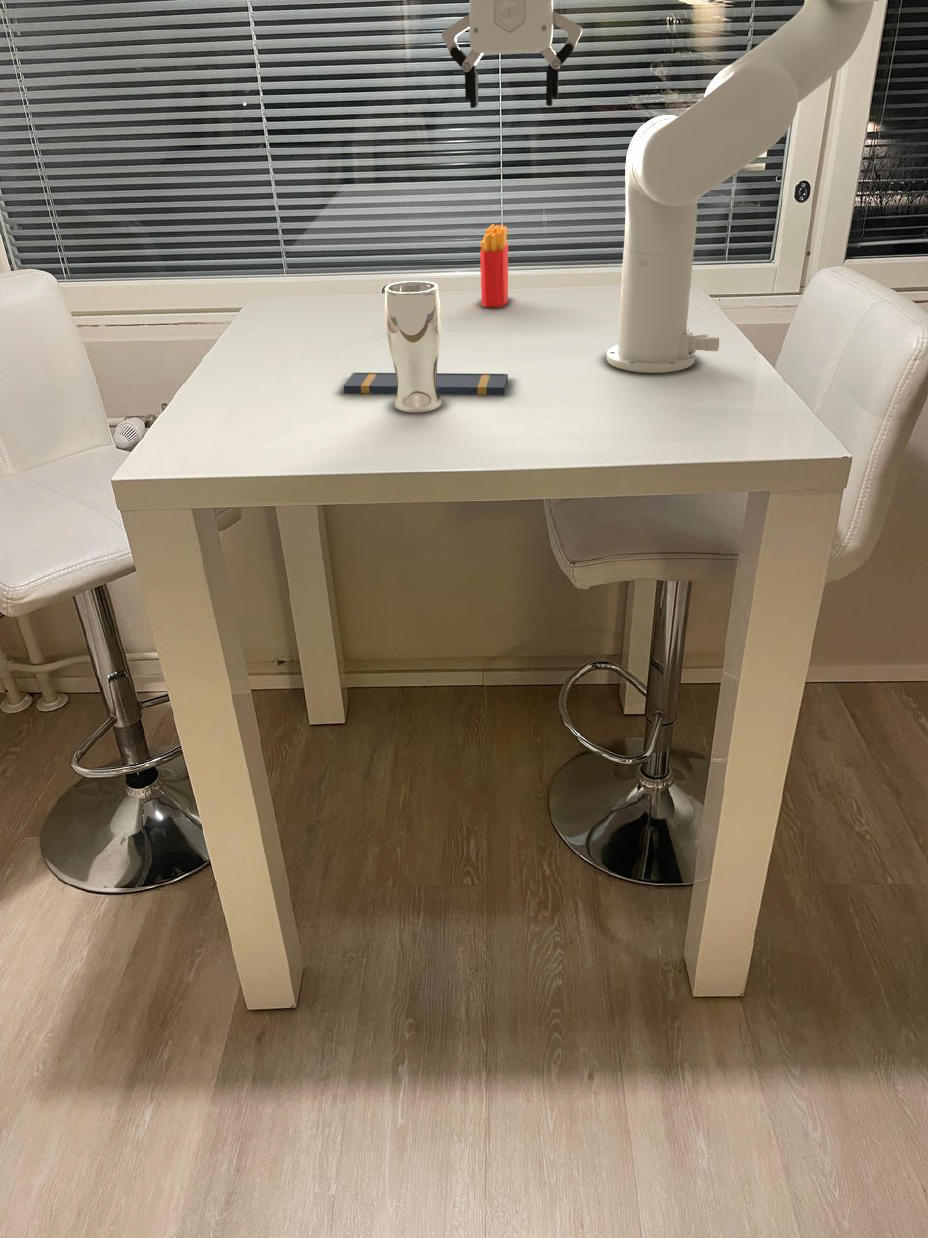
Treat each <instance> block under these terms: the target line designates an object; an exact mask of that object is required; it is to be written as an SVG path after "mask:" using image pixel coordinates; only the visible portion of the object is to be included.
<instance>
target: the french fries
mask: <svg viewBox="0 0 928 1238" xmlns="http://www.w3.org/2000/svg"><path fill="white" fill-rule="evenodd" d="M507 235H508V227H507V225H505V226H504V225H503V224H498V225H495V223H493V224H492V225H490V226H489V227H488V228H487V229H485V234H484V236H483V239H482V240H481V241H480V249H479V263H480V288H481V290H480V291H481V306H482V307H484V308H501V307H504V306H505V305H506V304H507V303H508V300H509V243H507Z"/></svg>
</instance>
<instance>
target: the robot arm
mask: <svg viewBox="0 0 928 1238" xmlns="http://www.w3.org/2000/svg"><path fill="white" fill-rule="evenodd" d="M877 1H879V0H805V2H804V4H803V5H802V7H801V9H799V11H798V12H797V13H796V14H795V15H794V16H793V17H792V18H791V19H790V20H788V21H787V22H786V23H785V24H783V25H782V26H781V27H780V28H779V29H777V30H776V31H775V32H774V33H773V34H771V35H770V36H769V37H767V38H766V39H765V40H762V42H760V43H759V44H757V45H756V46H755V47H753V48H752V49H750V50H749V51H748V52H747V53H745V54H744V55H743V56H741V57H739V58H738V59H736V60H735V61H733V62H732V63H730V64H729V65H726V67H724V68H722V70H721V71H719V72H718V73H717V74H716V75H715V76H714V78H712V80H711V81H710V83H709V85H708V86H707V88H706V90H705V93H704V96H703V97H702V98H701V99H699V100H697V102H695V103H693V104H692V105H691V106H690V107H688V108H687V109H686V110H685V111H683V112H682V113H680V114H679V115H673V114H670V115H669V114H667V115H666V114H665V115H660V116H656V117H652V119H651V118H650V120H648V121H647V122H644V124H642V125H641V126H640V127H639V129H638V130H637V131H636V132H635V134H634V135H633V137H632V139H631V141H630V144H629V146H628V150H627V154H626V160H625V216H624V217H625V220H624V221H625V222H624V237H623V238H624V240H623V252H622V253H623V254H622V268H621V269H622V270H621V287H620V288H621V290H620V305H619V321H618V322H619V323H618V340H617V341H618V342H617V343H618V344H616V345H614V346H612V347H610V348H609V349H608V350H607V352H606V361H607V363H608V364H610V365H611V366H612V367H615V368H617V369H620V370H623V371H628V372H634V373H645V374H663V373H672V372H673V373H674V372H679V371H682V370H685V369H688V368H689V367H691V366H693V364H695V360H696V351H704V352H718V351H719V347H720V337H719V336H709V334H705V333H704V334H703V333H701V334H693V333H692V332H690V330H689V325H688V319H689V318H688V316H689V307H690V296H691V287H692V286H691V285H692V284H691V283H692V273H693V265H694V264H693V262H694V255H695V254H694V253H695V247H696V237H697V236H696V235H697V223H698V222H697V221H698V199H700V198H701V197H703V196H705V195H706V194H707V193H709V192H710V191H712V190H713V189H715V188H716V187H718V186H719V185H721V184H722V183H724V182H725V181H726V180H728V179H730V177H732V176H734V175H735V174H736V173H737V172H740V171H741V170H742V169H743V168H745V167H746V166H748V165H749V164H750V163H752V162H753V161H755V160H756V159H757V158H759V157H760V156H762V155H763V154H765V152H767V151H769V150H770V149H771V148H772V147H774V145H775V144H777V143H778V142H779V141H780V140H781V139H782V138H783V136H784V135H785V134H786V133H787V131H788V130H789V129H790V127H791V125H792V123H793V121H794V119H795V117H796V113H797V110H798V105H799V104H798V103H800V102H801V101H803V100H804V99H805V98H807V97H808V96H809V95H810V94H812V93H813V92H814V91H816V90H817V89H818V88H819V87H821V86H822V85H824V83H826V82H828V80H829V79H831V78H832V77H833V76H834V75H836V73H837V72H838V71H840V70H841V69H842V68H843V67H844V66H845V65H846V64H847V63H848V61H850V59H851V58H852V57H853V55H854V53H855V52H856V50H857V49H858V47H859V45H860V43H861V41H862V39H863V37H864V34H865V33H866V30H867V27H868V25H869V22H870V20H871V17H872V13H873V10H874V4H875V2H877ZM468 12H469V13H468V14H467V15H465V16H463V17H462V18H461V19H459V20H458V21H456V22H455V23H453V24H452V25H450V26H449V27H447V28H446V29H444V30H443V31H442V32H441V37H442V40H443V43H444V44H445V46H446V48H447V50H448V52H449V55H450V57H451V58H452V59H453V60H454V61H455V62H456V63H457V64H458V66H459V67H460V68H461V69H462V71H463V72H464V92H465V93H464V94H465V95H464V97H465V101H469V105H470V107H469V108H470V109H476V108H477V107H478V106H479V73H478V71H477V70H476V68H477V67H476V66H477V64H478V63H479V61H480V59H481V58H482V57H483V55H484V54H486V55H487V54H490V55H493V54H495V55H496V54H520V53H521V54H523V53H538V52H540V54H541V55H542V56H543V58H544V59H545V60H546V62H547V63H548V69H547V70H546V79H545V80H546V84H545V85H546V89H545V105H546V106H547V107H552V106H553V104H554V103H553V102H554V99H559V73H560V71H559V69H560V68H561V66H563V64H564V63H565V62H566V60H567V59H568V58H569V57H570V56H571V55H572V53H573V52H574V51H575V47H576V46H577V43H578V41H579V39H580V37H581V35H582V33H583V28H582V26H581V25H579V24H577V23H575V22H574V21H572V20H571V19H569V18H567V17H565V16H563V15H562V14H560V13H558V12H557V11H555V10H554V0H469V11H468ZM554 26H556V27H558V28H559V29H561V30H563V31H565V32H566V33H567V34H568V36H567V39H566V41H565V44H564V46H563V47H562V48H561V49H560V50H559V51H558V52H557V53H556V51H555V50H554V49H553V48H552V43H553V35H554ZM467 30H468V36H469V37H468V38H469V46H470V48H471V50H470V51H469V53H468V55H466V54H465V53H464V51H463V50H462V49H461V48H460V46H459V44H458V41H457V37H458V36H460V35H461V34H462V33H464V32H465V31H467Z"/></svg>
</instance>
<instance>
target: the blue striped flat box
mask: <svg viewBox="0 0 928 1238" xmlns="http://www.w3.org/2000/svg"><path fill="white" fill-rule="evenodd" d="M508 381H509V374H508V373H466V372H465V373H463V372H461V373H460V372H459V373H457V372H455V373H453V372H451V373H449V372H442V373H441V372H437V384H438V389H439V394H440V395H480V396H481V395H483V396H484V395H485V396H486V395H491V396H493V395H495V396H496V395H497V396H499V395H500V396H501V395H502V396H504V395H505V393H506V389H507V385H508ZM343 393H344V394H396V373H395V372H352V373H351V375H350V376H349V377H348V379H347V380H346V382H345V383H344V385H343Z"/></svg>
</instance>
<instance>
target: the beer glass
mask: <svg viewBox="0 0 928 1238" xmlns="http://www.w3.org/2000/svg"><path fill="white" fill-rule="evenodd" d="M384 291H385V293H384V297H385V299H384V310H385V311H384V315H385V316H384V317H385V329H386V337H387V342H388V347H389V351H390V355H391V360H392V363H393V367H394V373H396V393H395V396H394V397H395V398H394V407H395V408H396V410H399V411H401V412H405V413H415V414H416V413H417V414H418V413H427V412H432V411H434V410H438V409H439V408H440V407H441V405H442V399H441V394H439V389H438V384H437V373H438V364H439V357H440V348H441V341H442V340H441V339H442V314H441V313H442V312H441V302H440V295H439V285H438V284H437V283H434V282H430V281H422V280H421V281H420V280H419V281H418V280H415V281H414V280H413V281H412V280H411V281H402V282H395V283H391V284H388V285H387V286H385V288H384Z"/></svg>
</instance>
